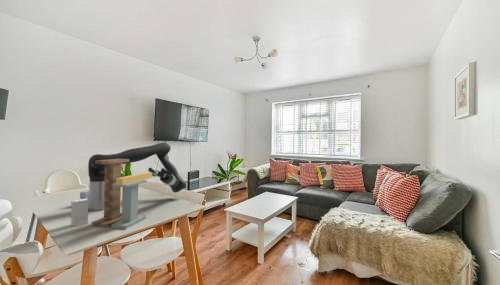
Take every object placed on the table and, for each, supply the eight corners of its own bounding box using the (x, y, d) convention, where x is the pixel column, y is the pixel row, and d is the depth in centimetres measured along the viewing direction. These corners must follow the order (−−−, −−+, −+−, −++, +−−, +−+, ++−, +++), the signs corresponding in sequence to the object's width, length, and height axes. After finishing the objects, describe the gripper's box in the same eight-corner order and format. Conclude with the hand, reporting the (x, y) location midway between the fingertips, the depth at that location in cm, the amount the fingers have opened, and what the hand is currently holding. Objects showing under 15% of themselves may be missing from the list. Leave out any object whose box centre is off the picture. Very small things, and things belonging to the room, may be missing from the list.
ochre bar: (116, 184, 98) (116, 178, 98) (146, 177, 120) (146, 172, 120) (122, 185, 97) (122, 178, 97) (151, 177, 119) (152, 172, 119)
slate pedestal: (111, 227, 99) (112, 184, 99) (132, 217, 112) (133, 179, 112) (126, 229, 97) (127, 185, 97) (145, 218, 111) (146, 179, 111)
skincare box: (86, 221, 106) (86, 197, 106) (88, 223, 103) (88, 199, 103) (70, 224, 101) (70, 200, 101) (72, 227, 98) (72, 202, 98)
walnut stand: (91, 225, 101) (92, 160, 101) (114, 215, 114) (115, 158, 114) (108, 227, 99) (110, 161, 99) (130, 216, 113) (131, 159, 113)
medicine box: (85, 206, 129) (85, 192, 129) (79, 205, 130) (79, 192, 130) (96, 202, 137) (97, 189, 137) (91, 202, 138) (91, 189, 138)
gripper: (160, 172, 142) (147, 163, 128) (179, 173, 139) (168, 164, 126) (156, 183, 138) (142, 174, 124) (176, 184, 136) (164, 175, 122)
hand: (155, 169), depth 125 cm, fingers open, 8 cm apart
